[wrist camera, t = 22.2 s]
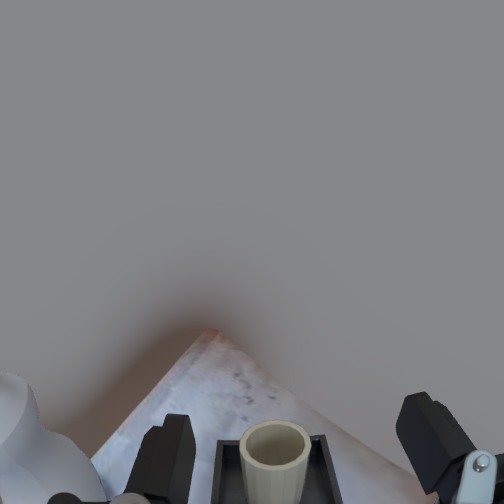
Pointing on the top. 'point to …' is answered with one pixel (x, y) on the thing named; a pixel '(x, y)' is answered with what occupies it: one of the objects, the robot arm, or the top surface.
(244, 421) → the top surface
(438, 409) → the robot arm
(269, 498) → the cup
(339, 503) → the black tray
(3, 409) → the soap bottle
